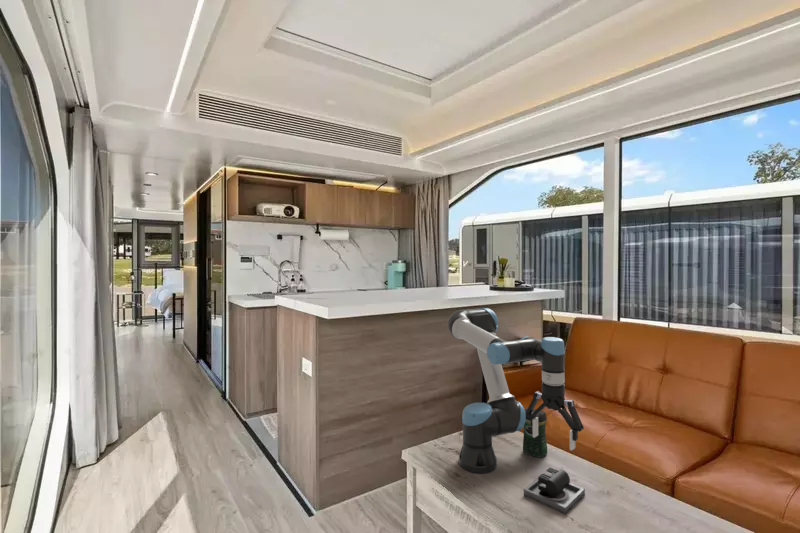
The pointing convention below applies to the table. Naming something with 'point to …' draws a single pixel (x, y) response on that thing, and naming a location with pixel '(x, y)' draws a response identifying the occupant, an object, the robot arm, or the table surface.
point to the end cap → (553, 482)
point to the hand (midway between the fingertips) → (553, 442)
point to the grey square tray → (561, 501)
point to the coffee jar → (538, 443)
